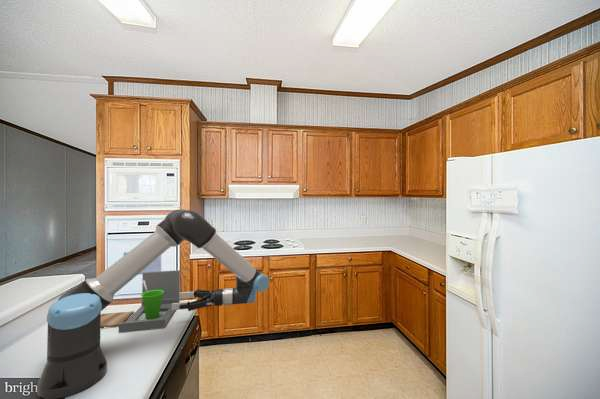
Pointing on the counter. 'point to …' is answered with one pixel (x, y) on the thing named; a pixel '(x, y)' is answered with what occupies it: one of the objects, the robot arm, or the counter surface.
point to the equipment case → (171, 288)
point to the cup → (152, 303)
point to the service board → (114, 319)
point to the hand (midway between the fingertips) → (175, 300)
